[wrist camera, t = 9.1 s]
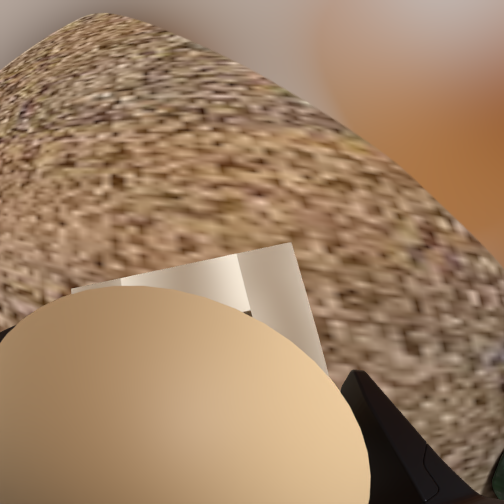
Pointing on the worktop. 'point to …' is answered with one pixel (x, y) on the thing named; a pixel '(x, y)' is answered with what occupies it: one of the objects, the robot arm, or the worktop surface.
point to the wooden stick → (169, 408)
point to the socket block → (245, 290)
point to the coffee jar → (499, 480)
